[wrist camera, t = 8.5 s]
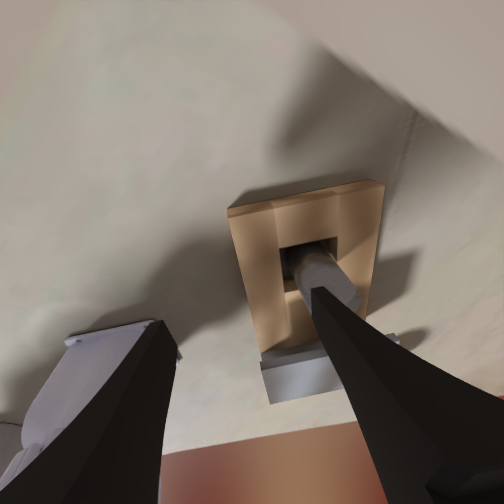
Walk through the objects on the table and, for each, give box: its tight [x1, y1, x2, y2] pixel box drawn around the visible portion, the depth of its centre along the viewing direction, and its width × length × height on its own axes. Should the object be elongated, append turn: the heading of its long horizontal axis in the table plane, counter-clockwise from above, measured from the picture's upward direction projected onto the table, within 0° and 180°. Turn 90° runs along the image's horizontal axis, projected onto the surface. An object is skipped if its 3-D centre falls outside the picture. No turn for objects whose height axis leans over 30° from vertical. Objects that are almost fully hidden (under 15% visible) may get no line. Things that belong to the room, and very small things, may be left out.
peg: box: [285, 240, 362, 317], centre depth 18 cm, size 4×4×7 cm
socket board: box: [227, 179, 400, 404], centre depth 20 cm, size 12×18×7 cm, turn 10°
